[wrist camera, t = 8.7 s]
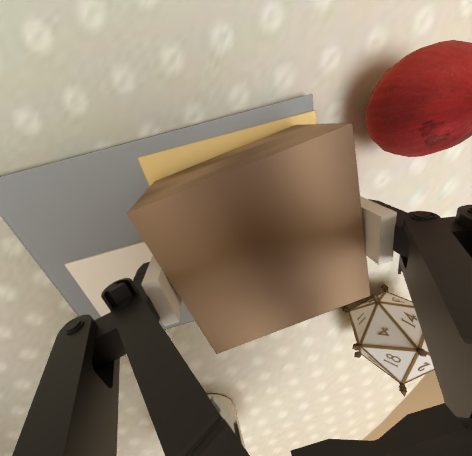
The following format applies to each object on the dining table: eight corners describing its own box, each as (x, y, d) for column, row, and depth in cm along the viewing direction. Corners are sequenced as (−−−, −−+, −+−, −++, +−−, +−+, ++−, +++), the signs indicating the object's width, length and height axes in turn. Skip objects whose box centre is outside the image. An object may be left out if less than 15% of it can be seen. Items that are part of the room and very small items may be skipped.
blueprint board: (107, 336, 22) (101, 350, 20) (-8, 179, 15) (-29, 184, 13) (320, 274, 22) (327, 284, 21) (304, 96, 15) (314, 92, 14)
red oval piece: (412, 137, 18) (557, 144, 10) (344, 160, 18) (443, 182, 10) (417, 51, 15) (612, -20, 8) (338, 77, 15) (462, 30, 8)
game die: (336, 276, 28) (366, 286, 18) (413, 286, 26) (493, 302, 16) (331, 351, 27) (361, 405, 17) (411, 366, 25) (496, 436, 15)
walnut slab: (212, 289, 19) (216, 353, 14) (154, 181, 15) (126, 213, 9) (321, 246, 19) (370, 295, 13) (295, 124, 14) (352, 123, 9)
